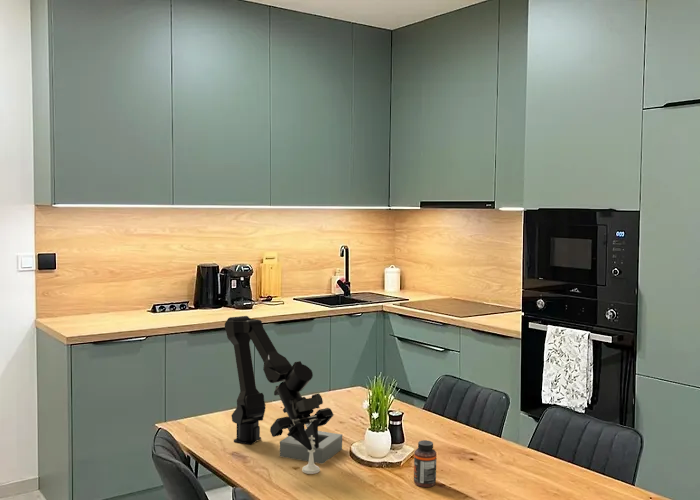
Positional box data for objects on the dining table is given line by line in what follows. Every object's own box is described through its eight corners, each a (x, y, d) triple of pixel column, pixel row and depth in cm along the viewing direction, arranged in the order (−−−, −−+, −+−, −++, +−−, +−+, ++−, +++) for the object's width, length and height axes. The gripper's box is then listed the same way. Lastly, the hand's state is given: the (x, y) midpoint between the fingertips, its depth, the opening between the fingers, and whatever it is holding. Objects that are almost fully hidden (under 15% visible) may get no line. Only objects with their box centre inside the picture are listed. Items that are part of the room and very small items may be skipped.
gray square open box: (279, 456, 206) (279, 441, 205) (301, 442, 219) (301, 428, 218) (322, 464, 200) (322, 448, 200) (342, 449, 213) (342, 434, 213)
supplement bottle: (411, 479, 190) (412, 438, 189) (433, 479, 190) (434, 438, 190) (415, 488, 184) (416, 446, 183) (437, 487, 184) (439, 446, 184)
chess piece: (317, 474, 191) (318, 439, 190) (300, 472, 192) (300, 437, 191) (321, 468, 196) (322, 433, 195) (304, 466, 197) (305, 431, 196)
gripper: (276, 390, 189) (299, 441, 182) (330, 380, 201) (354, 427, 194) (260, 411, 196) (281, 461, 188) (313, 400, 208) (335, 447, 200)
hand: (314, 448), depth 192 cm, fingers closed on chess piece
